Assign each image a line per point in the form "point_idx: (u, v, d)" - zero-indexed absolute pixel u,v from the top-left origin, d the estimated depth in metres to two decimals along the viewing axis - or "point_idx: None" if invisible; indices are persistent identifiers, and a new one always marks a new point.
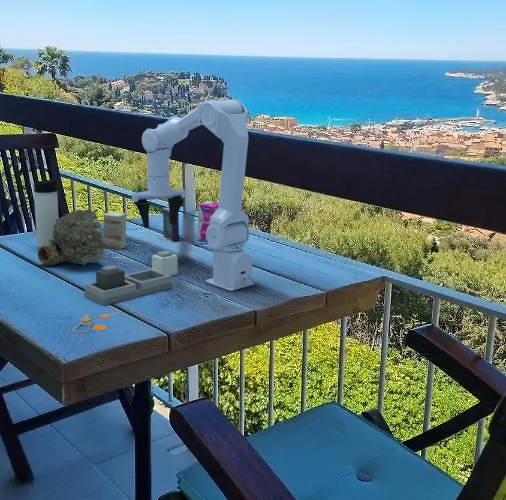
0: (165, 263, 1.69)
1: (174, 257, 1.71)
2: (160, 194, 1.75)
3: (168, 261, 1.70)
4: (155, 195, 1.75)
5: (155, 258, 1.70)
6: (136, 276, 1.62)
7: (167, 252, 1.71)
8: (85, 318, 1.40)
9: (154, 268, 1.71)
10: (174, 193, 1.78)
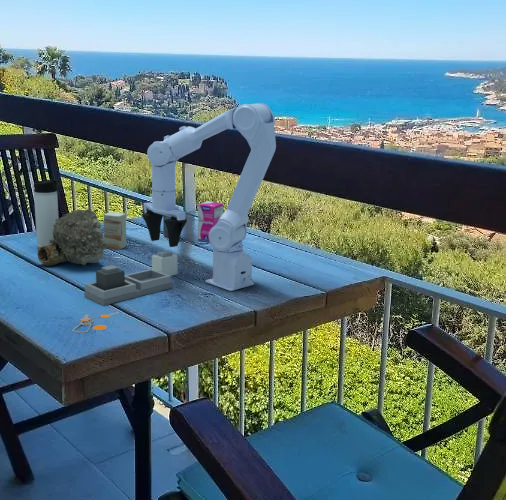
0: (165, 263, 1.69)
1: (174, 257, 1.71)
2: (153, 208, 1.66)
3: (168, 261, 1.70)
4: (150, 209, 1.67)
5: (155, 258, 1.70)
6: (136, 276, 1.62)
7: (167, 252, 1.71)
8: (85, 318, 1.40)
9: (154, 268, 1.71)
10: (166, 212, 1.64)
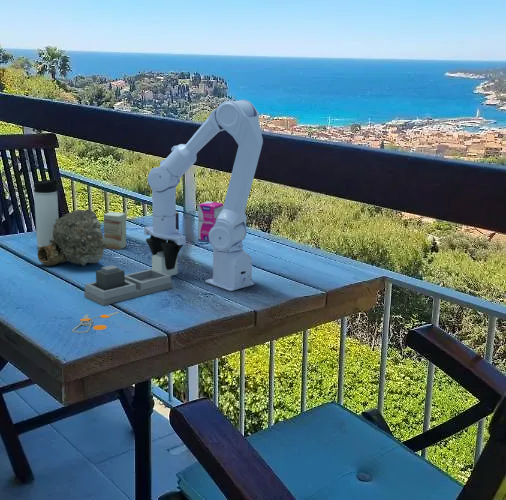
0: None
1: None
2: (153, 233, 1.68)
3: None
4: (151, 233, 1.69)
5: (155, 258, 1.70)
6: (136, 276, 1.62)
7: None
8: (85, 318, 1.40)
9: (154, 268, 1.71)
10: (167, 237, 1.66)
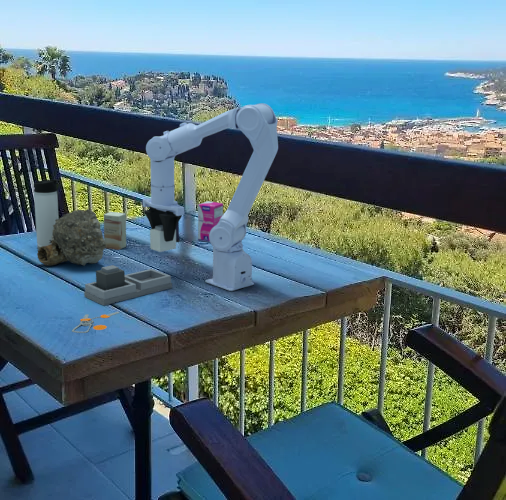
0: None
1: None
2: (152, 204, 1.65)
3: None
4: (149, 204, 1.66)
5: (153, 232, 1.67)
6: (136, 276, 1.62)
7: None
8: (85, 318, 1.40)
9: (152, 242, 1.68)
10: (165, 208, 1.63)
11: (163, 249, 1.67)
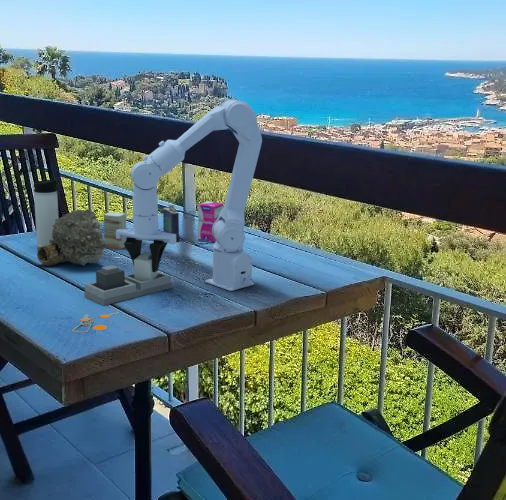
0: None
1: None
2: (137, 235, 1.55)
3: None
4: (133, 235, 1.56)
5: (139, 262, 1.57)
6: None
7: (148, 253, 1.59)
8: (85, 318, 1.40)
9: (138, 273, 1.58)
10: (156, 237, 1.55)
11: (151, 278, 1.59)
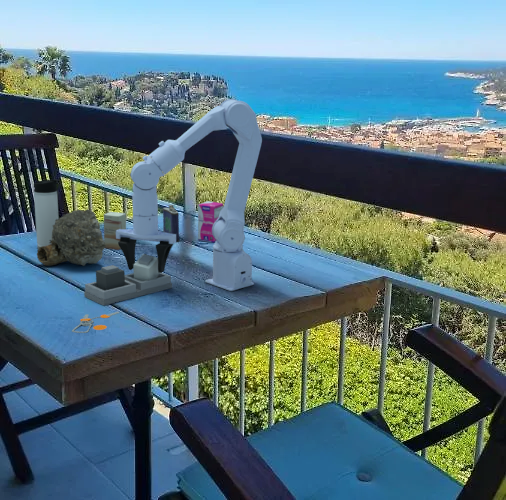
0: (151, 271, 1.58)
1: (156, 261, 1.59)
2: (137, 235, 1.55)
3: (153, 267, 1.58)
4: (133, 235, 1.56)
5: (139, 267, 1.57)
6: None
7: (148, 257, 1.58)
8: (85, 318, 1.40)
9: (137, 276, 1.58)
10: (156, 237, 1.55)
11: None
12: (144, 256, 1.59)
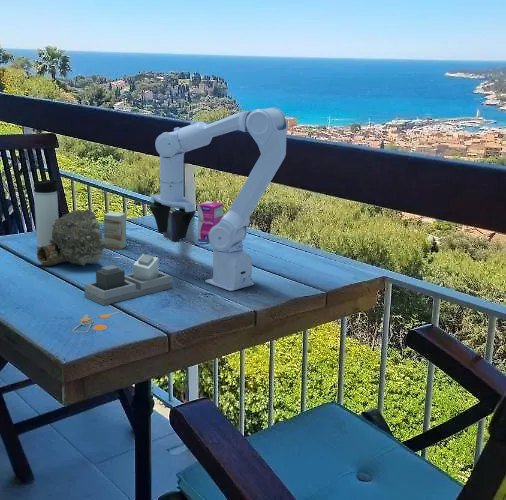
0: (151, 271, 1.58)
1: (156, 261, 1.59)
2: (161, 200, 1.65)
3: (153, 267, 1.58)
4: (158, 200, 1.66)
5: (139, 267, 1.57)
6: None
7: (148, 257, 1.58)
8: (85, 318, 1.40)
9: (137, 276, 1.58)
10: (174, 204, 1.63)
11: None
12: (144, 256, 1.59)
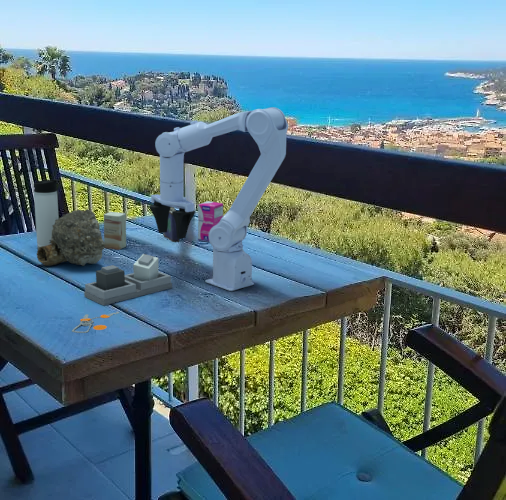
0: (151, 271, 1.58)
1: (156, 261, 1.59)
2: (161, 200, 1.65)
3: (153, 267, 1.58)
4: (158, 200, 1.66)
5: (139, 267, 1.57)
6: None
7: (148, 257, 1.58)
8: (85, 318, 1.40)
9: (137, 276, 1.58)
10: (174, 204, 1.63)
11: None
12: (144, 256, 1.59)
